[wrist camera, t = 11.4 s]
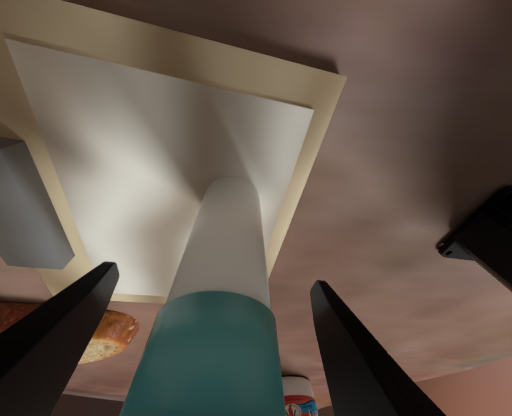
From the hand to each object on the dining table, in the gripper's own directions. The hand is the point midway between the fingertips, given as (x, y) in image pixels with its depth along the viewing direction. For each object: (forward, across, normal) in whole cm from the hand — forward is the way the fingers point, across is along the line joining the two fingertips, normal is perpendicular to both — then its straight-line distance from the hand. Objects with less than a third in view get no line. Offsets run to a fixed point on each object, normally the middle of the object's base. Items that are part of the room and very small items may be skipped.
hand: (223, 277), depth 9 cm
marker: (+4, 0, -2) cm, 4 cm away
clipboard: (+5, +4, +1) cm, 7 cm away
